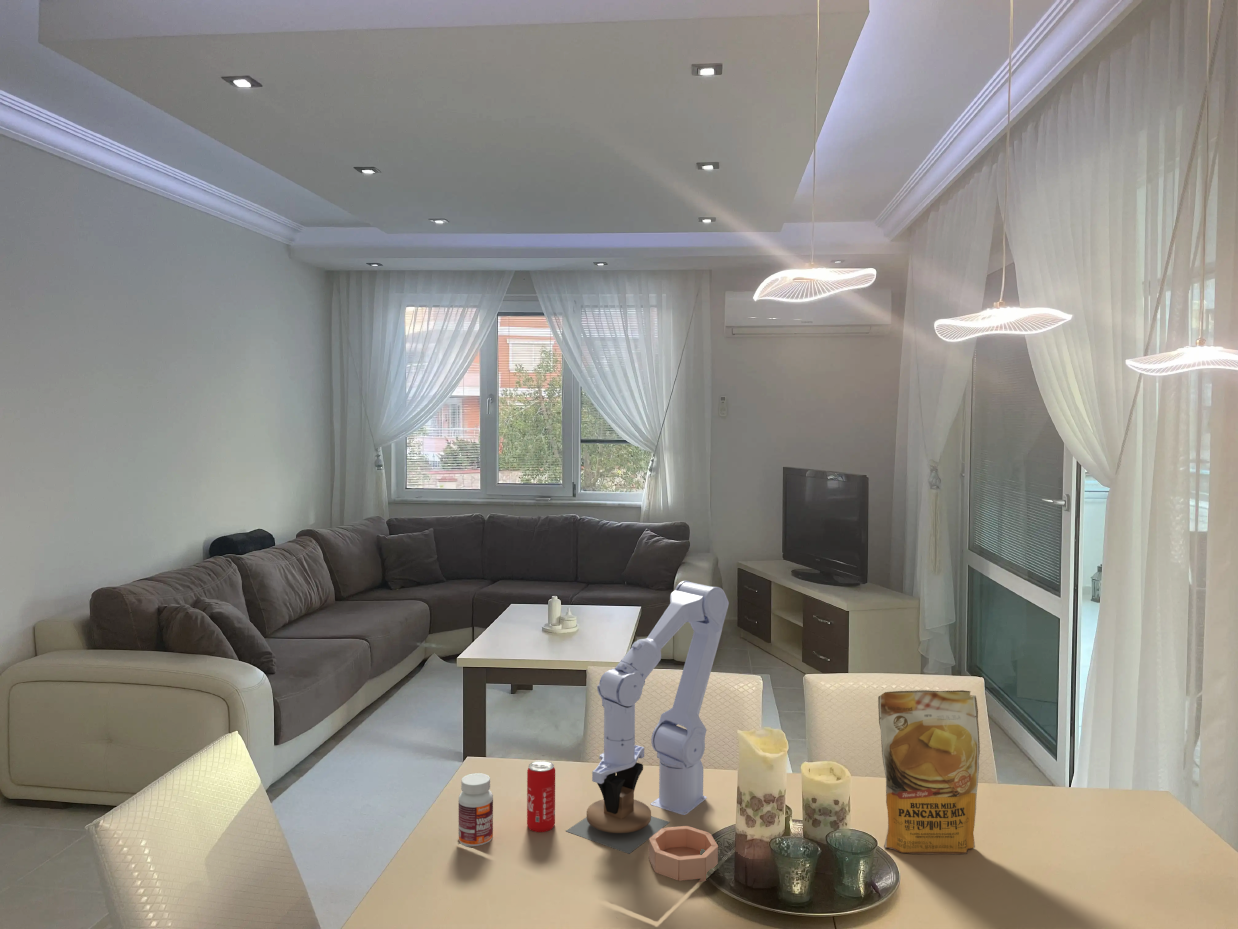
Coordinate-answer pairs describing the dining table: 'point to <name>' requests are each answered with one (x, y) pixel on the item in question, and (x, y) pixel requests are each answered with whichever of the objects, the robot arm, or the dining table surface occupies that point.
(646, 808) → the brown disc
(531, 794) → the beverage can
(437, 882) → the dining table surface
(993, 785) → the dining table surface
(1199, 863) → the dining table surface
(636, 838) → the mat
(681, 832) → the bowl
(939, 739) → the pancake mix bag
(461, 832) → the pill bottle
